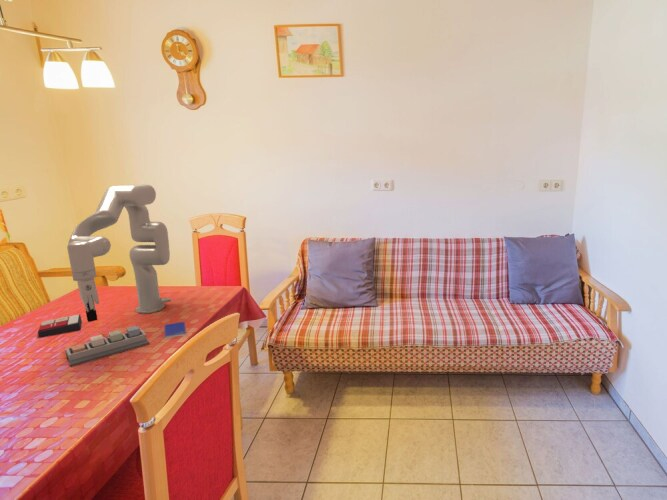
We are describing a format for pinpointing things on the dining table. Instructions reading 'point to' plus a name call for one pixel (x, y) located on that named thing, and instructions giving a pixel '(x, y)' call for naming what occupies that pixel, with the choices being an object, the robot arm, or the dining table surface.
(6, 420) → the dining table surface
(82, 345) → the key
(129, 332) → the key
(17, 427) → the dining table surface
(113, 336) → the key
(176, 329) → the hard drive
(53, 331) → the calculator
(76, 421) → the dining table surface
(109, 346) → the keypad
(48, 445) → the dining table surface
